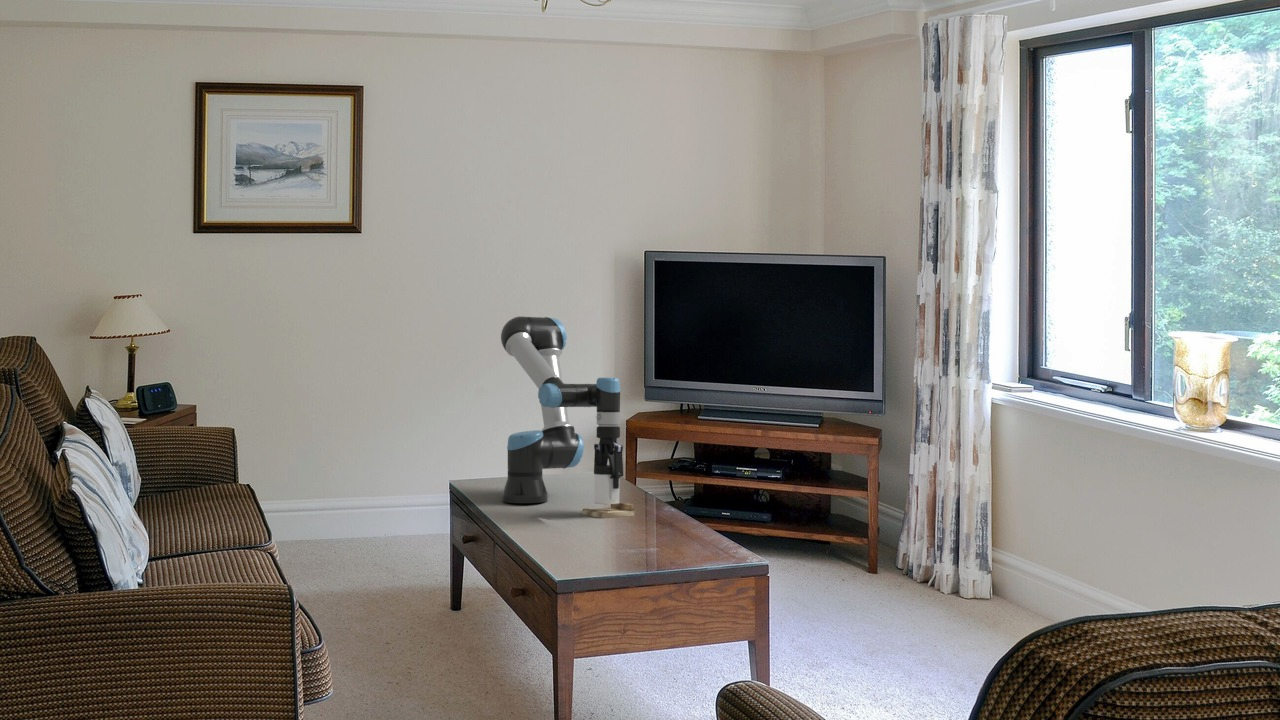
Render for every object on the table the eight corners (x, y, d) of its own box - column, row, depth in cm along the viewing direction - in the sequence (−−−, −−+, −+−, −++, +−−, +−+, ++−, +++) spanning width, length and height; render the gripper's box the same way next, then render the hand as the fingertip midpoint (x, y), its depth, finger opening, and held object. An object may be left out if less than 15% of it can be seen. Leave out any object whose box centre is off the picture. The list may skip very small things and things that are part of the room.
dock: (582, 514, 350) (582, 503, 350) (613, 512, 356) (613, 501, 356) (602, 518, 340) (602, 506, 340) (634, 515, 346) (634, 504, 346)
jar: (601, 504, 343) (601, 467, 343) (588, 502, 350) (588, 465, 350) (625, 503, 348) (625, 465, 348) (612, 501, 354) (612, 464, 355)
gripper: (582, 425, 355) (582, 496, 354) (614, 426, 339) (614, 501, 338) (602, 424, 359) (602, 495, 358) (634, 426, 343) (634, 499, 342)
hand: (608, 498), depth 348 cm, fingers closed on jar, 6 cm apart
